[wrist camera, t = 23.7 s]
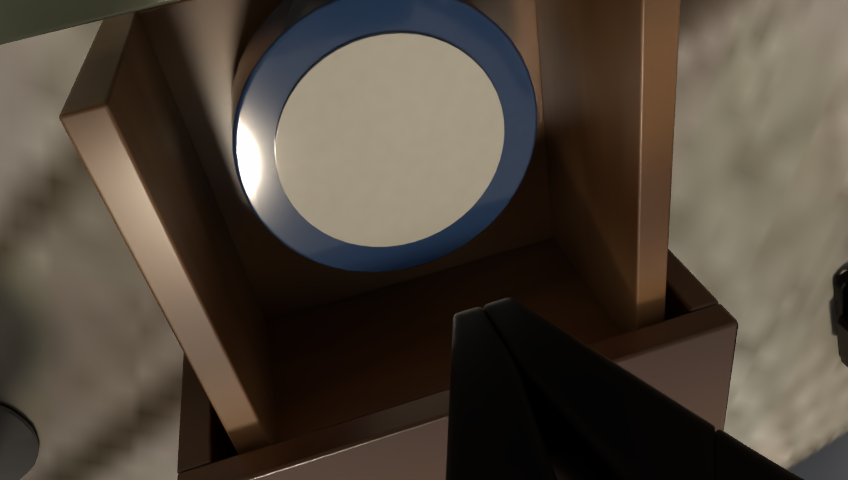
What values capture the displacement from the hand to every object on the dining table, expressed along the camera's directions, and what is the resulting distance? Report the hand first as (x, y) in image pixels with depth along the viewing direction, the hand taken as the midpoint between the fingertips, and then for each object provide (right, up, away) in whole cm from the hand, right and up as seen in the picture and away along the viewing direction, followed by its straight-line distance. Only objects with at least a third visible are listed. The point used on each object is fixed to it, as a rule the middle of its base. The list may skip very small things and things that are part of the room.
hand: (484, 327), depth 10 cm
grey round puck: (-2, +5, +9) cm, 10 cm away
